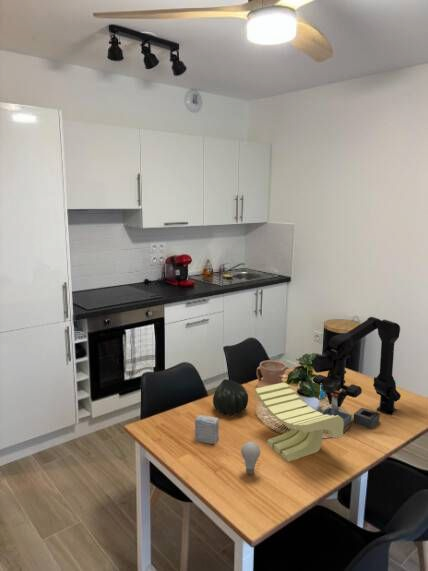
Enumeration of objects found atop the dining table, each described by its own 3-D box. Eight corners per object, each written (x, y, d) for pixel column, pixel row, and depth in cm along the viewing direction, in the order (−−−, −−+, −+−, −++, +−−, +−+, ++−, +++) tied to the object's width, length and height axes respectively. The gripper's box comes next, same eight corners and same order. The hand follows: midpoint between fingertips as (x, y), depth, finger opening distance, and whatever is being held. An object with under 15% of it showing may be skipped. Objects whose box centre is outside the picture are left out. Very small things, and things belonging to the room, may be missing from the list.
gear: (311, 398, 189) (306, 377, 195) (305, 402, 194) (300, 382, 200) (332, 398, 193) (327, 377, 198) (326, 403, 197) (321, 382, 203)
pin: (331, 413, 174) (333, 388, 172) (341, 416, 172) (343, 391, 169) (326, 417, 171) (328, 391, 169) (336, 420, 168) (338, 395, 166)
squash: (259, 403, 175) (243, 370, 181) (231, 415, 167) (215, 380, 172) (243, 414, 186) (228, 383, 191) (215, 426, 177) (201, 392, 182)
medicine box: (218, 439, 158) (219, 417, 157) (214, 445, 154) (215, 423, 153) (199, 435, 161) (199, 414, 159) (194, 441, 157) (194, 419, 155)
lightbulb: (239, 468, 141) (240, 438, 139) (257, 467, 141) (258, 437, 139) (242, 480, 135) (242, 448, 133) (261, 479, 135) (262, 447, 133)
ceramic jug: (296, 395, 195) (297, 366, 193) (274, 404, 186) (275, 373, 184) (268, 383, 209) (269, 356, 207) (246, 391, 200) (247, 362, 198)
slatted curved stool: (340, 462, 145) (344, 414, 142) (303, 475, 138) (306, 424, 134) (287, 422, 171) (289, 381, 168) (253, 431, 164) (255, 388, 161)
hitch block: (360, 416, 177) (361, 407, 176) (379, 422, 172) (379, 413, 171) (353, 422, 171) (353, 413, 171) (371, 429, 166) (372, 420, 166)
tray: (328, 413, 179) (328, 406, 178) (351, 421, 172) (351, 414, 172) (316, 422, 171) (316, 415, 171) (339, 431, 165) (340, 424, 164)
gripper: (306, 368, 168) (304, 404, 171) (351, 381, 156) (348, 420, 158) (319, 360, 176) (317, 396, 179) (363, 372, 164) (360, 410, 167)
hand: (335, 405), depth 170 cm, fingers closed on pin, 3 cm apart
